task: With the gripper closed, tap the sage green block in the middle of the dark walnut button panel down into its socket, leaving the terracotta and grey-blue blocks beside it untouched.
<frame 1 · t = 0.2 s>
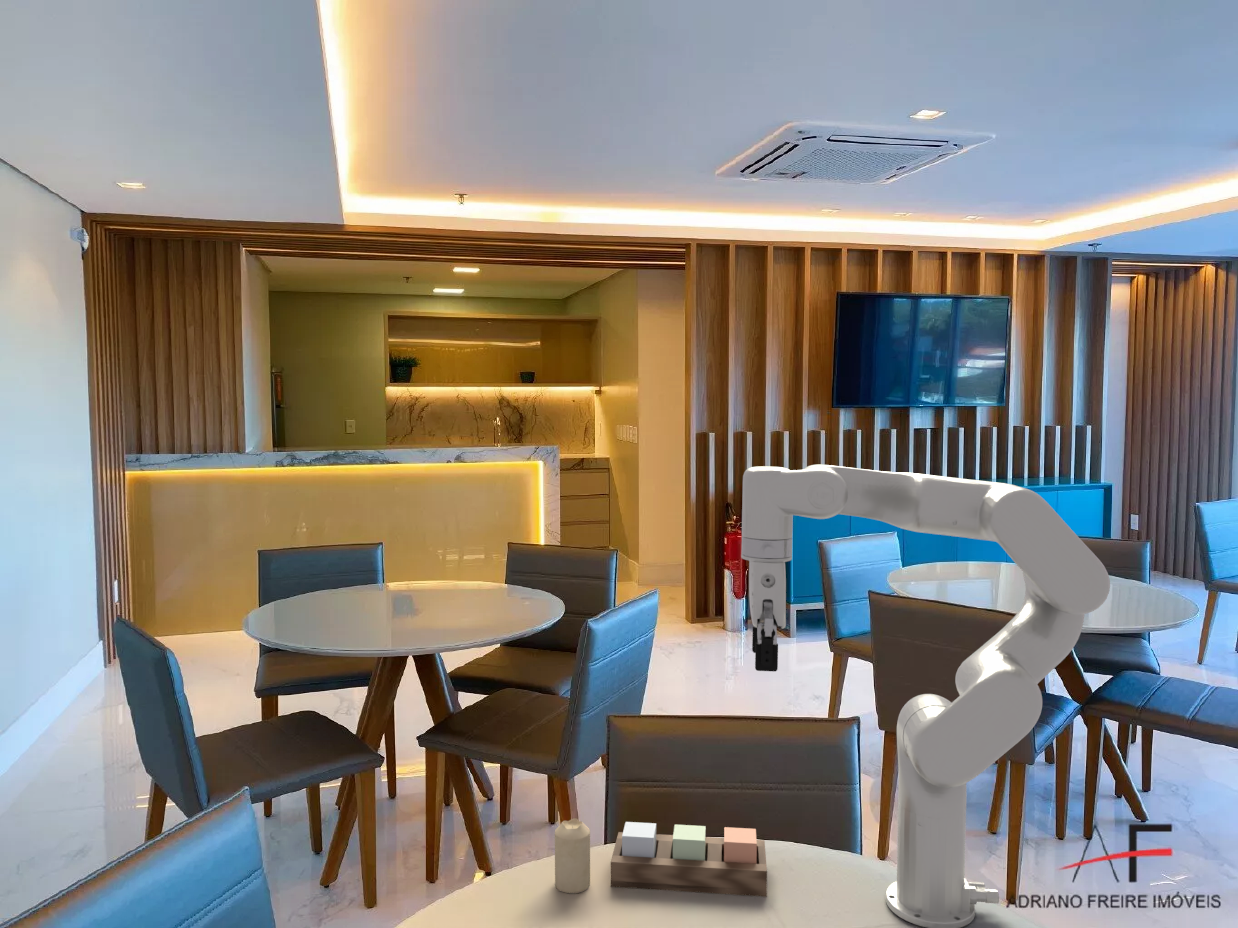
hand: (764, 661, 136), 36 cm above the table, tool pointing down, fingers open, 9 cm apart
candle: (572, 885, 141), on the table
greyblue button: (639, 843, 144), point 5 cm above the table, slide at 0.0 cm
button panel: (689, 875, 144), on the table
terracotta button: (740, 849, 142), point 5 cm above the table, slide at 0.0 cm
sage button: (689, 846, 143), point 5 cm above the table, slide at 0.0 cm
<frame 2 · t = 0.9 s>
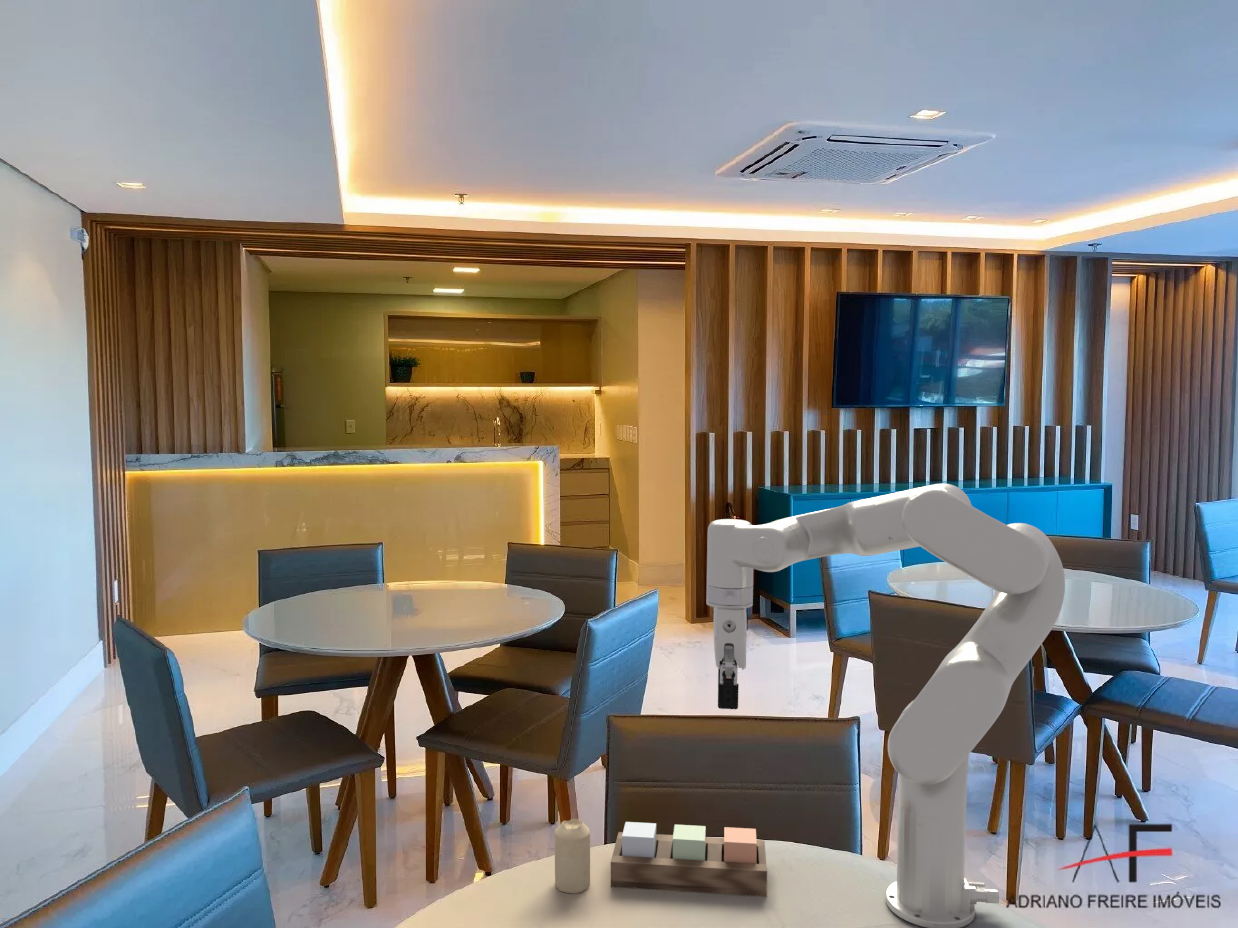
hand: (727, 698, 148), 27 cm above the table, tool pointing down, fingers open, 9 cm apart
nothing on the table moved.
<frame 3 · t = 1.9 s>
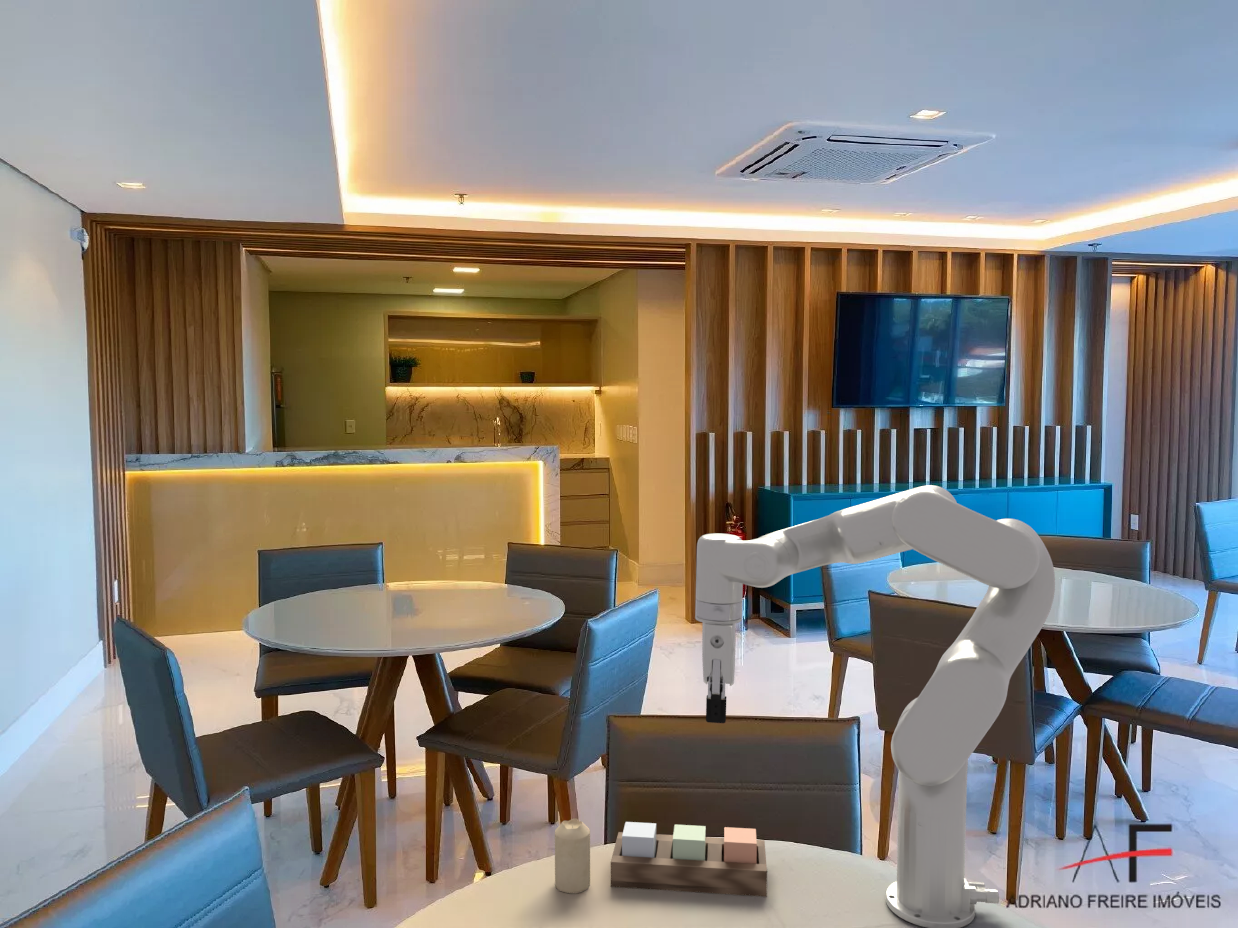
hand: (715, 720, 147), 23 cm above the table, tool pointing down, fingers closed
nothing on the table moved.
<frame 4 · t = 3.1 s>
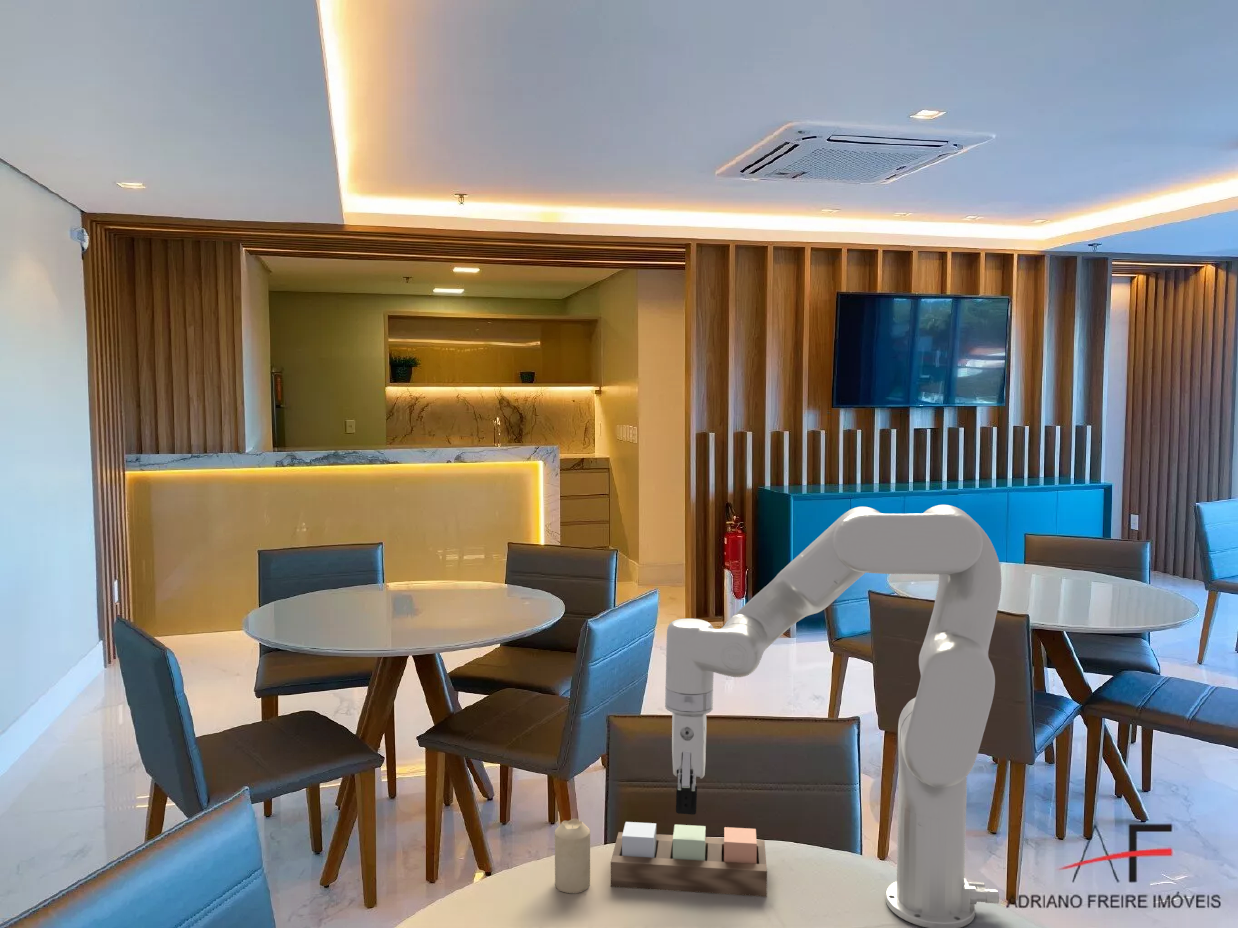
hand: (686, 811, 143), 10 cm above the table, tool pointing down, fingers closed
nothing on the table moved.
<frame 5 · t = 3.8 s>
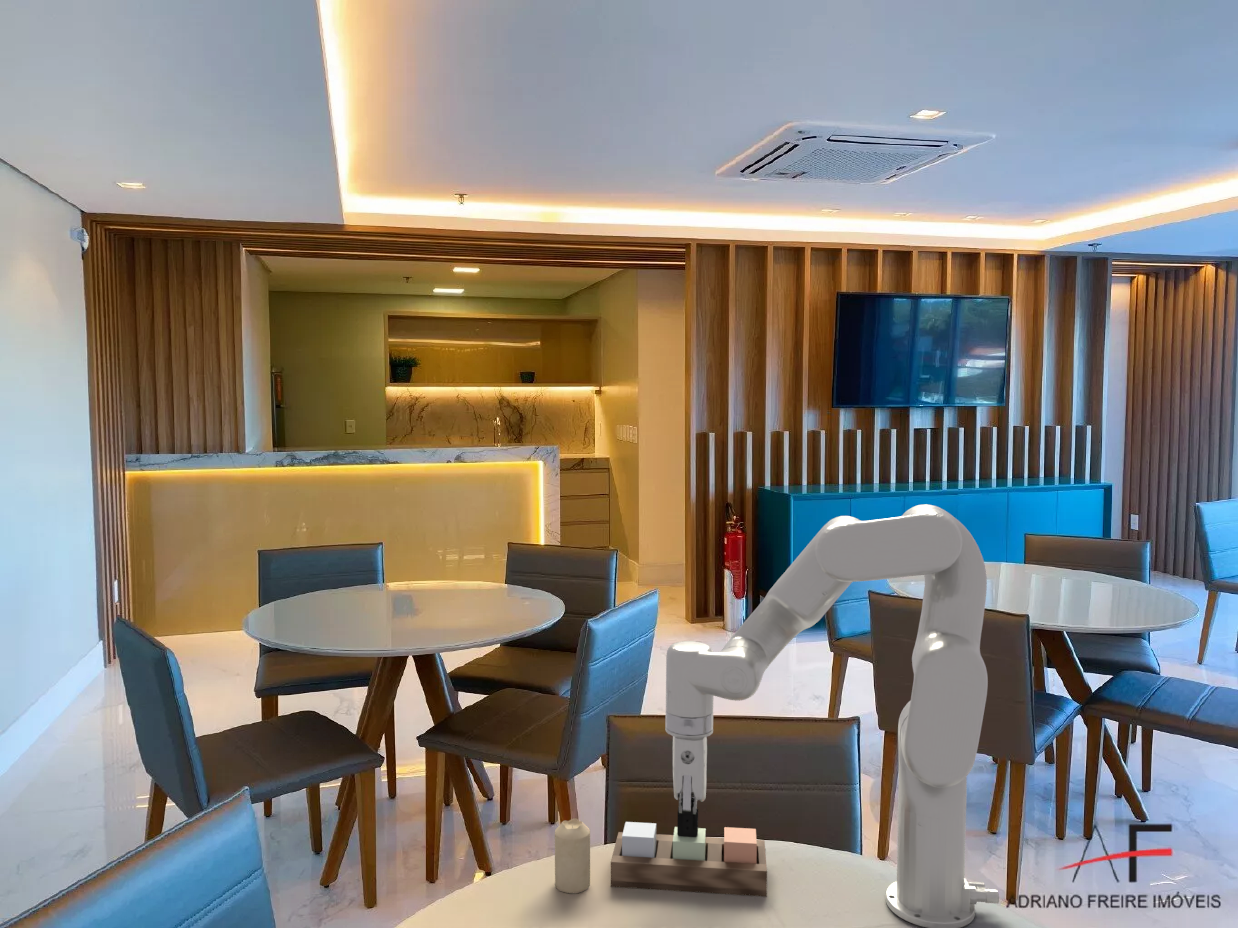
hand: (687, 834, 143), 7 cm above the table, tool pointing down, fingers closed
sage button: (689, 848, 143), point 4 cm above the table, slide at 0.4 cm, touching gripper
everything else where it was.
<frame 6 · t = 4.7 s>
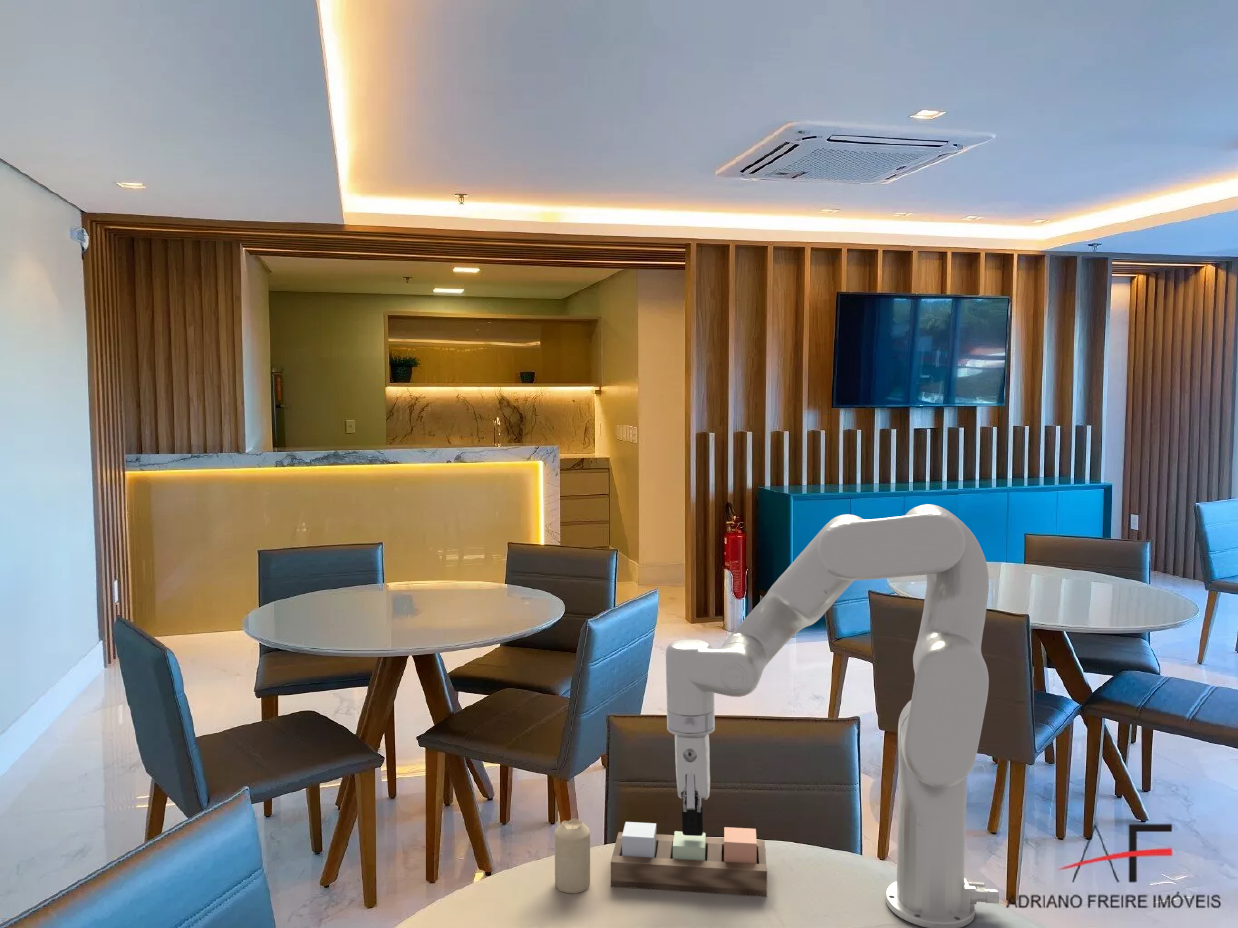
hand: (692, 833, 143), 7 cm above the table, tool pointing down, fingers closed
sage button: (689, 852, 143), point 4 cm above the table, slide at 1.1 cm
everything else where it was.
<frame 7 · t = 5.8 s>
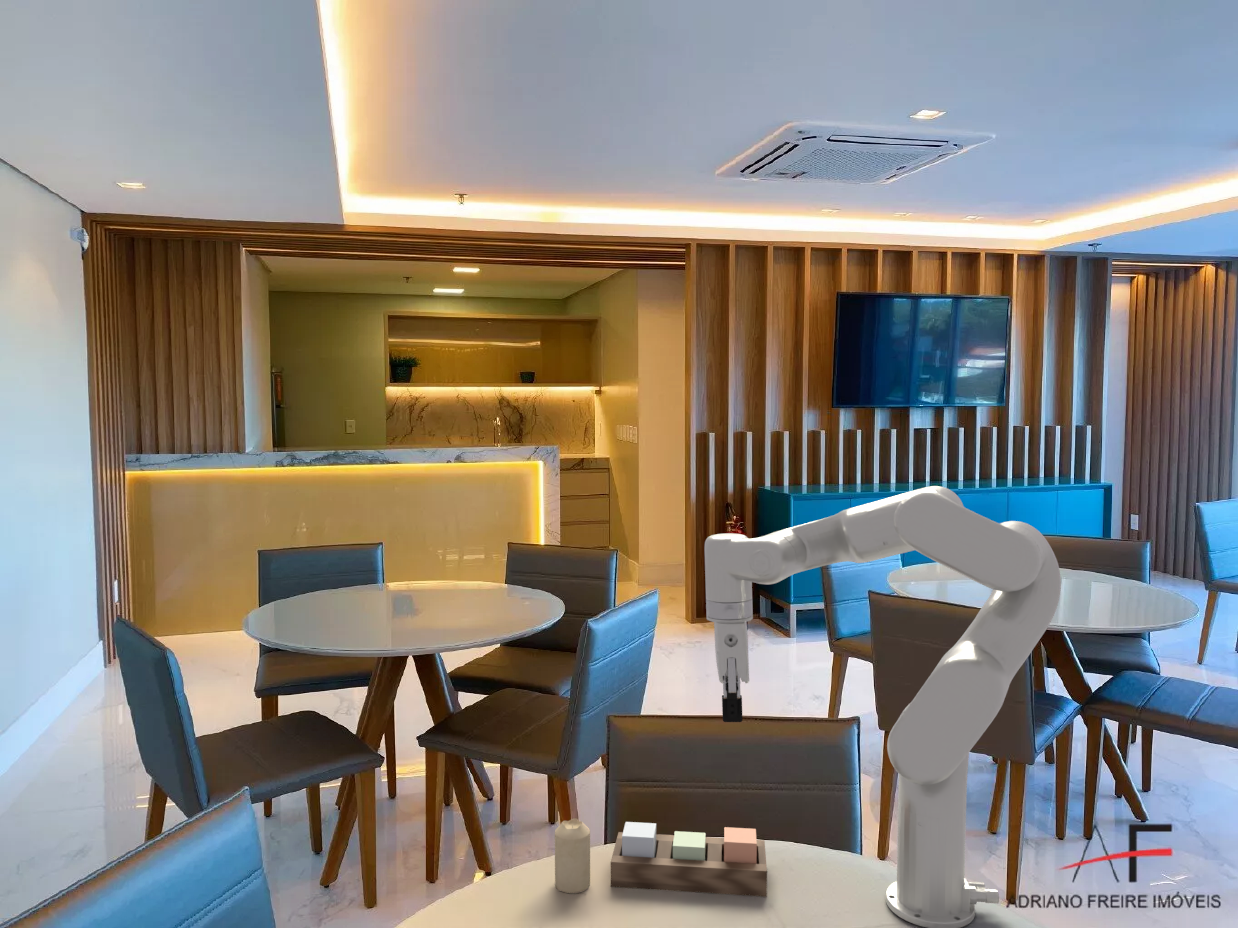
hand: (732, 720, 148), 23 cm above the table, tool pointing down, fingers closed
nothing on the table moved.
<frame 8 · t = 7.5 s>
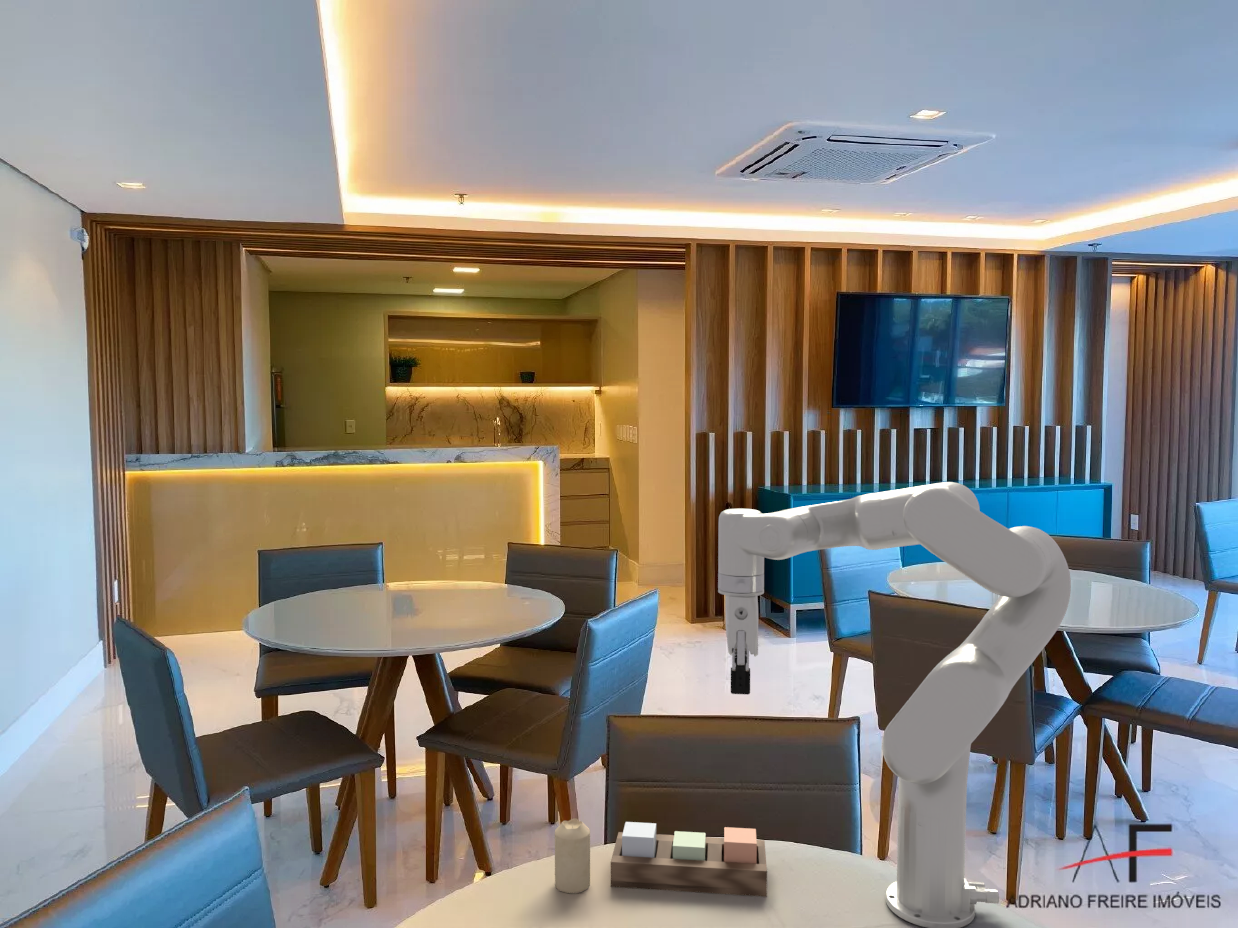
hand: (740, 692, 150), 27 cm above the table, tool pointing down, fingers closed
nothing on the table moved.
at the end: sage button slide at 1.1 cm; terracotta button slide at 0.0 cm; greyblue button slide at 0.0 cm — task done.
